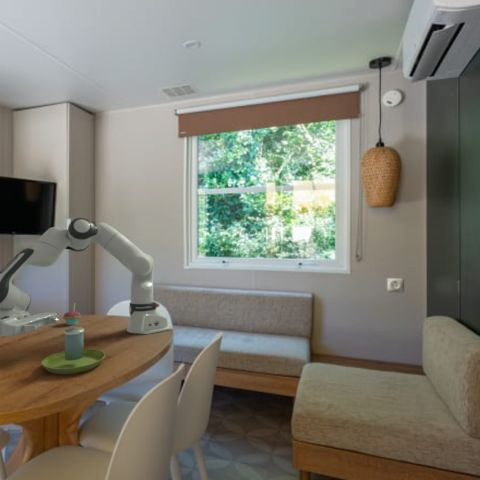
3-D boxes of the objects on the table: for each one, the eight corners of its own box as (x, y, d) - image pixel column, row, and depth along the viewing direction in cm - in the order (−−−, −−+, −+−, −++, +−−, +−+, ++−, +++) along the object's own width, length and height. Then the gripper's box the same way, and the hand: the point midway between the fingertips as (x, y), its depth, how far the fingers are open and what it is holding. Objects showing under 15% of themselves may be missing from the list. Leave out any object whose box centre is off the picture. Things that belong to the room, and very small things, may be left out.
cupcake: (70, 322, 181) (70, 300, 181) (84, 322, 180) (84, 301, 180) (59, 325, 172) (59, 303, 172) (74, 326, 171) (74, 303, 171)
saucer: (101, 374, 111) (101, 365, 111) (32, 381, 106) (33, 371, 106) (107, 354, 131) (108, 346, 131) (50, 358, 125) (50, 350, 125)
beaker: (83, 352, 123) (83, 326, 123) (84, 358, 117) (84, 331, 117) (64, 355, 120) (64, 328, 119) (64, 361, 114) (64, 333, 114)
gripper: (41, 323, 135) (69, 325, 132) (-7, 338, 116) (24, 341, 112) (40, 308, 135) (68, 309, 132) (-8, 321, 116) (24, 323, 112)
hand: (48, 324), depth 122 cm, fingers open, 8 cm apart
